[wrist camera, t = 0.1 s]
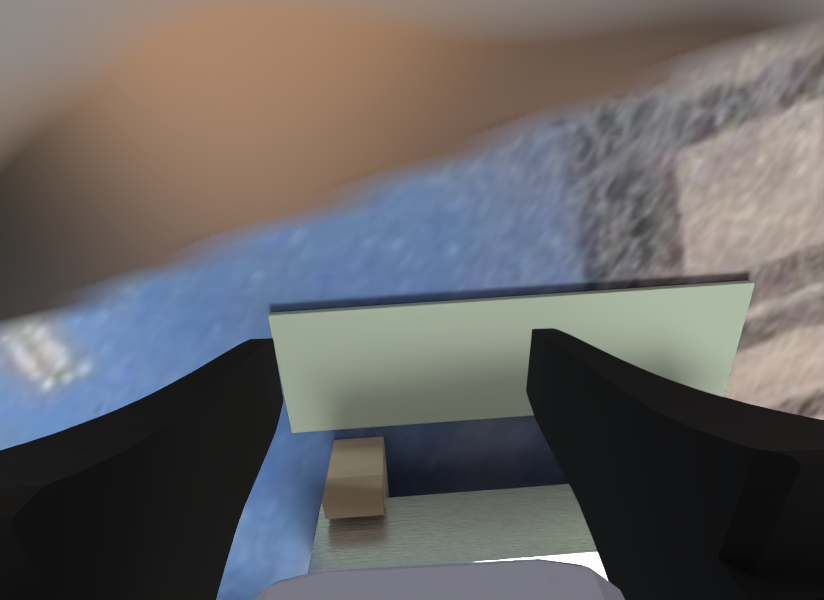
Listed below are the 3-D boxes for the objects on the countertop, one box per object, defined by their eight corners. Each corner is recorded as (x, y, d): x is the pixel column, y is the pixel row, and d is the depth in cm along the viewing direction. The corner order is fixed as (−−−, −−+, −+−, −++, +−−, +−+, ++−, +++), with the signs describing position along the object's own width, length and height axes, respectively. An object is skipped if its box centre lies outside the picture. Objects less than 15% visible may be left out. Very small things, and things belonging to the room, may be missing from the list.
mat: (717, 397, 25) (722, 401, 24) (293, 428, 24) (291, 432, 24) (748, 280, 22) (755, 282, 22) (270, 312, 21) (267, 315, 21)
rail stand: (684, 532, 29) (768, 647, 23) (316, 562, 29) (294, 687, 22) (717, 411, 25) (830, 507, 19) (292, 443, 25) (256, 553, 18)
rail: (700, 524, 24) (754, 593, 21) (330, 553, 24) (319, 629, 20) (714, 472, 23) (777, 537, 19) (321, 502, 23) (307, 575, 19)
